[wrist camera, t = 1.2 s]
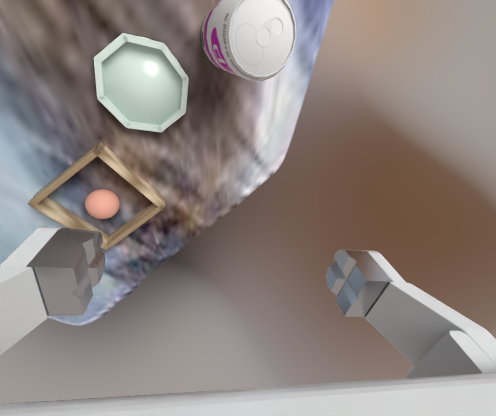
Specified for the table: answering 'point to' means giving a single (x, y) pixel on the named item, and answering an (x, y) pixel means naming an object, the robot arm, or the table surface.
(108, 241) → the wooden square frame
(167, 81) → the saucer
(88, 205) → the ball
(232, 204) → the table surface
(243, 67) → the soda can
